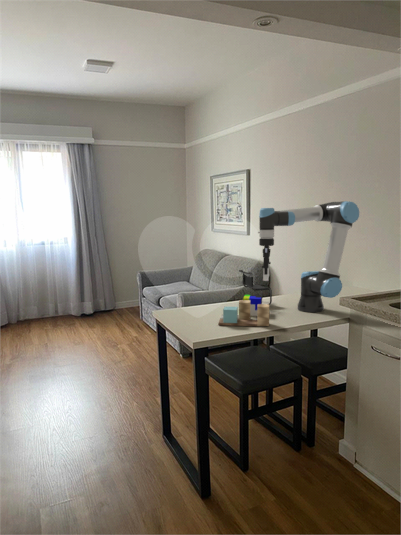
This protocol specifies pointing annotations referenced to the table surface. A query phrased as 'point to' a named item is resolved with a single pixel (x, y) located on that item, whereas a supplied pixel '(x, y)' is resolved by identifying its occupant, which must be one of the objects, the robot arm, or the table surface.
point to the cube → (230, 314)
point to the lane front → (261, 320)
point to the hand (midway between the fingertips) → (266, 278)
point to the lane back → (243, 310)
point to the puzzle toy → (253, 303)
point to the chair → (249, 283)
